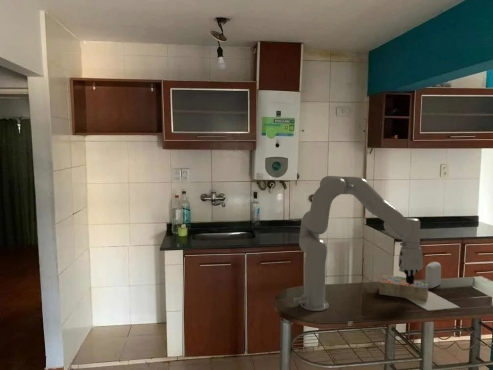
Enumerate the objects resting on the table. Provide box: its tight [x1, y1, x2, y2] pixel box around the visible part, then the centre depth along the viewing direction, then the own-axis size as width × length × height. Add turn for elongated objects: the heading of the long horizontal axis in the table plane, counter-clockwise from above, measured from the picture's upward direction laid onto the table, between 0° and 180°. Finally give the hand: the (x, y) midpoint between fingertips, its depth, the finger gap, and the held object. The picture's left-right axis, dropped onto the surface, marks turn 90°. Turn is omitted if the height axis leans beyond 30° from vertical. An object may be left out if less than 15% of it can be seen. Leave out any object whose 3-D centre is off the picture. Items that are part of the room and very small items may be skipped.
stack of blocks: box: [378, 274, 429, 301], centre depth 183 cm, size 21×6×12 cm
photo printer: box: [424, 261, 442, 289], centre depth 195 cm, size 10×4×12 cm, turn 127°
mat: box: [406, 290, 461, 312], centre depth 178 cm, size 16×26×1 cm, turn 11°
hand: (409, 283), depth 176 cm, fingers closed
